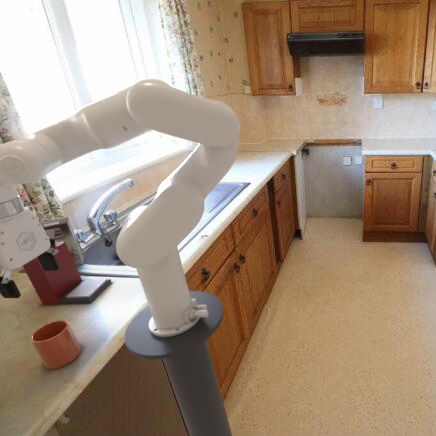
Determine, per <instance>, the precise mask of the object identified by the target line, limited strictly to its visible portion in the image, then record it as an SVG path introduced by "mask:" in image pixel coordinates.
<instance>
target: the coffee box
mask: <svg viewBox="0 0 436 436" xmlns="http://www.w3.org/2000/svg"><path fill="white" fill-rule="evenodd" d="M39 222H40V224H41V225H42V227H43V229H44V230H54V232H55V233H54V240H55V242H66V245H67V247H68V249H69V251H70V254H71V256H72V258H73V261H74V263H75V265H76V266H79V265H83V264H84V258H85V257H84V254H83V251H82V249H81V247H80V246H81V245H80V243H79V241H78V238H77V237H76V233H75V231H74V228H73V226H72V224H71V221H70V219H69V217H67V216H66V217H62V218H61V217H60V218H55V219H51V220H46V221H45V220H44V221H39Z"/></svg>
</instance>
